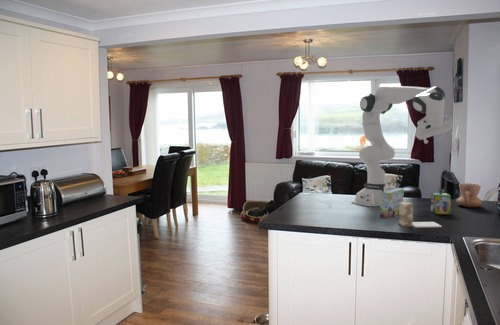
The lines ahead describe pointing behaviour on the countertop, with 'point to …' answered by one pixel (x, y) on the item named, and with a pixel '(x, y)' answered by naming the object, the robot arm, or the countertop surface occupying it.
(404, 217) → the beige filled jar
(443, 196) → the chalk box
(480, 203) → the ceramic jug
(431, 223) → the mat
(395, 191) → the snack box
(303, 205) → the countertop surface
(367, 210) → the countertop surface
